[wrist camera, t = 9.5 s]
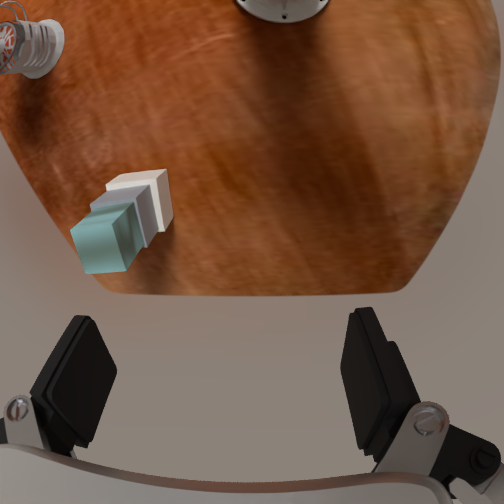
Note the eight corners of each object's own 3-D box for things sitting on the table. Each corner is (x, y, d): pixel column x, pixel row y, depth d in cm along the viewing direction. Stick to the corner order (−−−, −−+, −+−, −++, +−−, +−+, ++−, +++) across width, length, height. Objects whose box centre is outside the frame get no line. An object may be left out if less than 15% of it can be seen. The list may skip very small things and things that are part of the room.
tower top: (107, 190, 36) (89, 204, 32) (149, 184, 36) (135, 197, 31) (118, 233, 39) (103, 251, 34) (158, 229, 39) (147, 247, 34)
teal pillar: (95, 208, 32) (70, 230, 27) (133, 201, 32) (111, 223, 26) (107, 247, 34) (85, 274, 29) (144, 243, 34) (126, 270, 29)
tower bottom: (120, 174, 40) (105, 184, 36) (166, 168, 40) (156, 178, 35) (129, 219, 43) (116, 234, 39) (173, 216, 43) (164, 231, 39)
